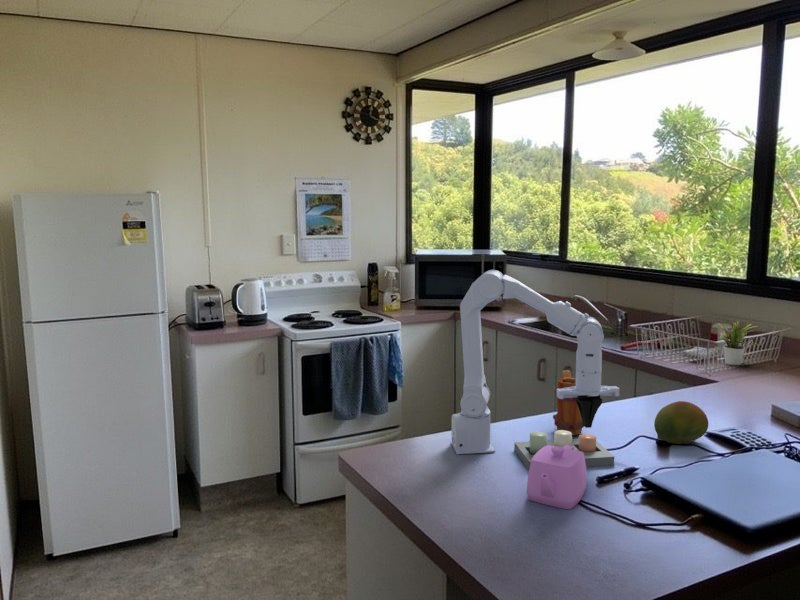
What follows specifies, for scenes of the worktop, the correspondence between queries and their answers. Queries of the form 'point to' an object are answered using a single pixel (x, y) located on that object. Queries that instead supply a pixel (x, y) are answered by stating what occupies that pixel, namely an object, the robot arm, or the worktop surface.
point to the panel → (591, 458)
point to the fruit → (681, 422)
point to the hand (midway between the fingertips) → (586, 426)
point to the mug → (567, 408)
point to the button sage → (537, 441)
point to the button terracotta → (587, 443)
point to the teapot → (557, 476)
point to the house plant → (735, 344)
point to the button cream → (562, 438)
